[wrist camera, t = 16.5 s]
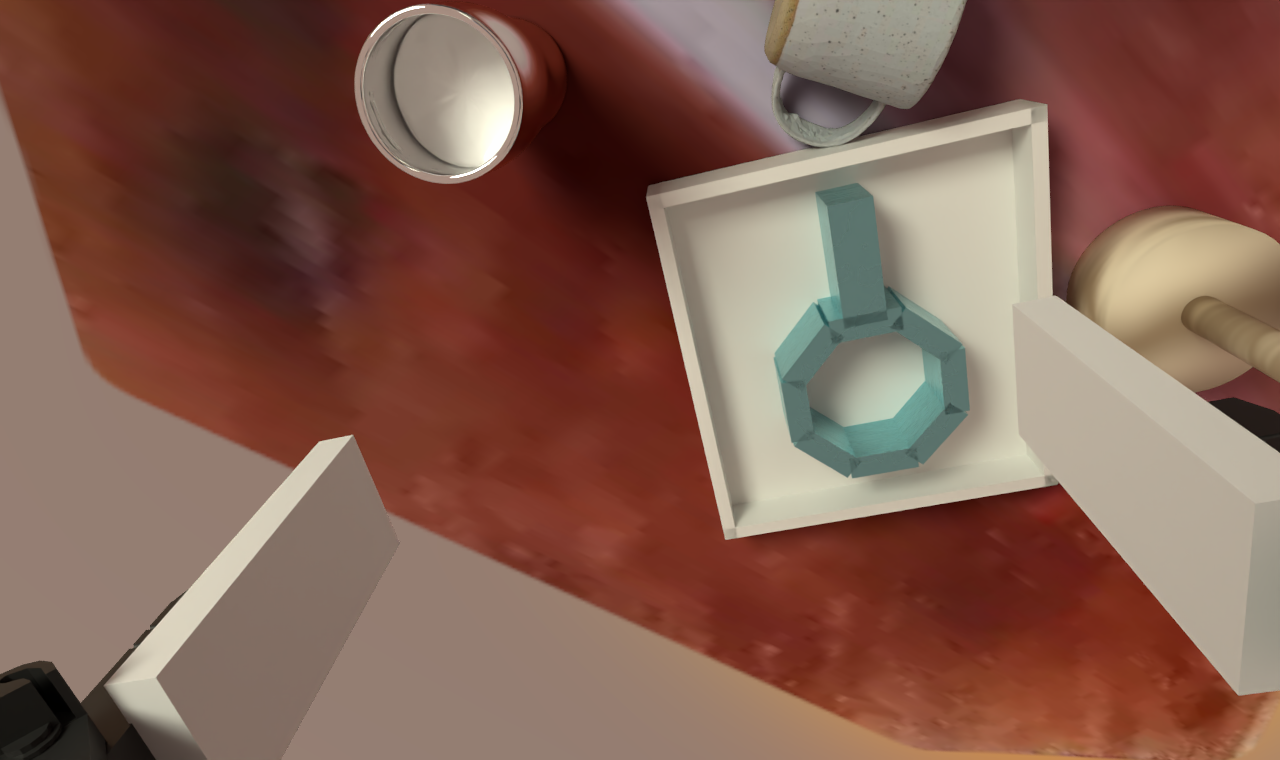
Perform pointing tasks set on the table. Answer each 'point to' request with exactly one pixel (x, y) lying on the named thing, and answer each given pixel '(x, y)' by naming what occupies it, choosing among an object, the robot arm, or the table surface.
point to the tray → (874, 366)
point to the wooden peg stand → (1185, 293)
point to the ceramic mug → (859, 54)
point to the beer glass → (456, 88)
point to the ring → (860, 314)
